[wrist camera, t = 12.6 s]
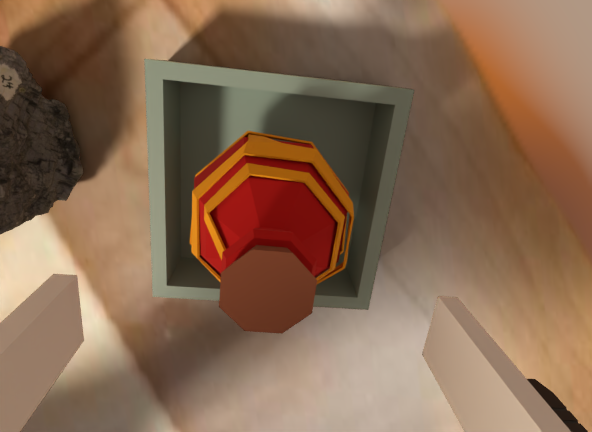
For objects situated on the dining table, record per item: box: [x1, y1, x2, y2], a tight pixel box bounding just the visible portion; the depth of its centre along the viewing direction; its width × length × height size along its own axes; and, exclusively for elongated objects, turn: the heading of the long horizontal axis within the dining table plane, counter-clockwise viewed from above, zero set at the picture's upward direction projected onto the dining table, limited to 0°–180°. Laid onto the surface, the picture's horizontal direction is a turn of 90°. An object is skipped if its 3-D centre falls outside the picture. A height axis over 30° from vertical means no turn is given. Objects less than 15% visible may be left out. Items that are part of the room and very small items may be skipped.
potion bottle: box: [189, 131, 354, 333], centre depth 22 cm, size 10×10×15 cm
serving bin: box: [145, 59, 414, 310], centre depth 27 cm, size 16×16×5 cm
